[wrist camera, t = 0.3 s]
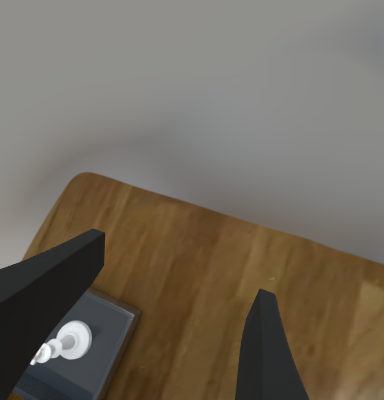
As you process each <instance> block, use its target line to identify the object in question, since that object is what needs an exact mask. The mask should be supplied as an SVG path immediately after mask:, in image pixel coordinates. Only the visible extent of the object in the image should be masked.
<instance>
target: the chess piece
mask: <svg viewBox="0 0 384 400" xmlns="http://www.w3.org/2000/svg"><path fill="white" fill-rule="evenodd" d="M91 343H92V333H91V330H90V328H89V327H88V326H87V324H85V323H84V322H82V321H71V322H69V323H67V324H65V325H64V326H63V327H62V328H61V329H60V331H59V332H58V335H57V338H56V339H52V340H50V341H49V342H48V343H47V344H46V343H44V344H43V345H42V347H41V348H40V349H39V351H38V352H37V354H36V355H35V357H34V358H33V360H32V361H31V363H30V364H31V365H34V364H36V362H39V363H44V362H46V361H48V360H49V359H50V358H56V357H58V356H59V355H61V356H62V357H64V358H66V359H71V360H72V359H77V358H80V357H82V356H83V355H85V354H86V353H87V351H88V350H89V348H90V346H91Z"/></svg>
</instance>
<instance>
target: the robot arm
mask: <svg viewBox="0 0 384 400" xmlns="http://www.w3.org/2000/svg"><path fill="white" fill-rule="evenodd" d="M104 249H105V233H104V232H102V231H99V230H96V229H91V230H89V231H87V232H85V233H83V234H81V235H79V236H77V237H75V238H73V239H71V240H69V241H67V242H64V243H62V244H60V245H58V246H56V247H54V248H52V249H50V250H48V251H45V252H43V253H40V254H38V255H36V256H33V257H31V258H29V259H26V260H24V261H21V262H19V263H16V264H13V265H11V266H8V267H5V268H2V269H0V400H7V398H8V397H9V395H10V394H11V392H12V391H13V389H14V387H15V386H16V384H17V383H18V381H19V379H20V378H21V376H22V375H23V373H24V372H25V370H26V369H27V367H28V366H29V364H30V363H31V361H32V360H33V358H34V357H35V355H36V354H37V352H38V351H39V349H40V348H41V347H42V345H43V344H44V342H45V341H46V339H47V338H48V337H49V335H50V334H51V332H52V331H53V330H54V328H55V327H56V326H57V325H58V323H59V322H60V321H61V320H62V319H63V317H64V316H65V315H66V314H67V313H68V312H69V310H70V309H71V308H72V307H73V306H74V305H75V303H76V302H77V301H78V300H79V299H80V297H81V296H82V295H83V294H84V293H85V292H86V290H87V289H88V288H89V287H90V285H91V284H92V283H93V281H94V280H95V278H96V277H97V275H98V274H99V272H100V271H101V269H102V268H103V266H104ZM235 400H309V397H308V395H307V393H306V390H305V388H304V386H303V383H302V381H301V379H300V376H299V374H298V371H297V368H296V366H295V363H294V360H293V357H292V354H291V352H290V349H289V345H288V342H287V339H286V336H285V332H284V329H283V325H282V322H281V318H280V314H279V309H278V305H277V299H276V296H275V294H274V293H271V292H268V291H266V290H263V289H259V292H258V294H257V296H256V298H255V300H254V303H253V305H252V307H251V309H250V311H249V314H248V316H247V318H246V322H245V326H244V331H243V335H242V340H241V347H240V357H239V366H238V376H237V386H236V396H235Z"/></svg>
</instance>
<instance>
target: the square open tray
mask: <svg viewBox="0 0 384 400" xmlns="http://www.w3.org/2000/svg"><path fill="white" fill-rule="evenodd" d="M141 314H142V311H140V310H138V309H136V308H134V307H132V306H130V305H128V304H126V303H124V302H122V301H120V300H118V299H116V298H113V297H111V296H109V295H107V294H105V293H103V292H101V291H99V290H97V289H95V288H93V287H91V286H90V287H89V288H88V289H87V290H86V292H85V293H84V294H83V295H82V296H81V297H80V299H79V300H78V301H77V302H76V303H75V305H74V306H73V307H72V308H71V309H70V310H69V312H68V313H67V314H66V315H65V316H64V317H63V319H62V320H61V321H60V322H59V323H58V325H57V326H56V327H55V328H54V330H53V331H52V332H51V334H50V335H49V337H48V338H47V339H46V341H45V342H44V343H46V344H47V343H48V342H49V341H50V340H52V339H56V338H57V335H58V332H59V331H60V329H61V328H62V327H63V326H64V325H65V324H67V323H69V322H71V321H82V322H84V323H85V324H87V326H88V327H89V328H90V330H91V333H92V343H91V346H90V348H89V350H88V351H87V353H86V354H85V355H83V356H82V357H80V358H77V359H72V360H71V359H66V358H64V357H62V356H61V355H59V356H58V357H56V358H50V359H49V360H48V361H46V362H44V363H39V362H36V364H34V365H31V364H29V366H28V367H27V369H26V370H25V372H24V373H23V375H22V376H21V378H20V379H19V381H18V383H17V384H16V386H15V387H14V389H13V392H14V393H16V394H18V395H20V396H21V397H23V398H25V399H26V400H103V399H104V397H105V395H106V392H107V390H108V388H109V386H110V383H111V381H112V379H113V377H114V374H115V372H116V370H117V368H118V365H119V363H120V361H121V359H122V356H123V354H124V352H125V350H126V347H127V345H128V343H129V341H130V338H131V336H132V334H133V332H134V329H135V327H136V325H137V323H138V320H139V318H140V316H141Z"/></svg>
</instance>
